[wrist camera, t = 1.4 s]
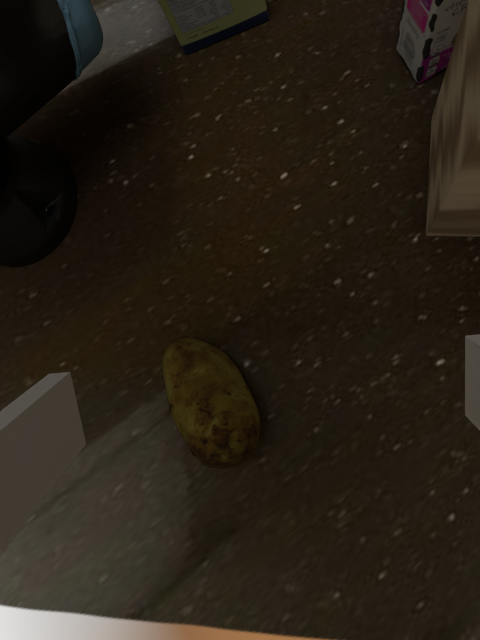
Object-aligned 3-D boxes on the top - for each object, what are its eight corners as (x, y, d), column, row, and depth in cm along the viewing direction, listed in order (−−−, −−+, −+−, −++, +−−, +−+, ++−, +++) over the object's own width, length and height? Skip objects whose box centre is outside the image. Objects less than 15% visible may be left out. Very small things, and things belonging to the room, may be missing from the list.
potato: (243, 323, 46) (222, 311, 39) (277, 449, 44) (262, 463, 36) (169, 345, 48) (135, 339, 40) (198, 468, 45) (167, 486, 38)
